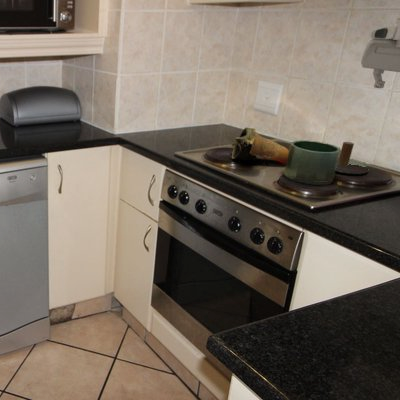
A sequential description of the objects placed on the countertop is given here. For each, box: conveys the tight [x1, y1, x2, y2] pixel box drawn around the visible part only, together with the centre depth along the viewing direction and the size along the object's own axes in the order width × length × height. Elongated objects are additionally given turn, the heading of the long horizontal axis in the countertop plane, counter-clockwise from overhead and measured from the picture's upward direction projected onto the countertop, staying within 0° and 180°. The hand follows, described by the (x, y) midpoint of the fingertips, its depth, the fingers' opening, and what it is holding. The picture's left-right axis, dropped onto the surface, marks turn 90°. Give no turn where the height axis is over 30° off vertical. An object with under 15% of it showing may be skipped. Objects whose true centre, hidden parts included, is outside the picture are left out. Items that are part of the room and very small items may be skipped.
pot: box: [230, 126, 289, 165], centre depth 151 cm, size 17×11×18 cm
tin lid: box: [335, 141, 369, 175], centre depth 147 cm, size 14×14×8 cm
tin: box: [283, 139, 342, 186], centre depth 138 cm, size 13×13×10 cm
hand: (397, 91), depth 120 cm, fingers open, 8 cm apart
